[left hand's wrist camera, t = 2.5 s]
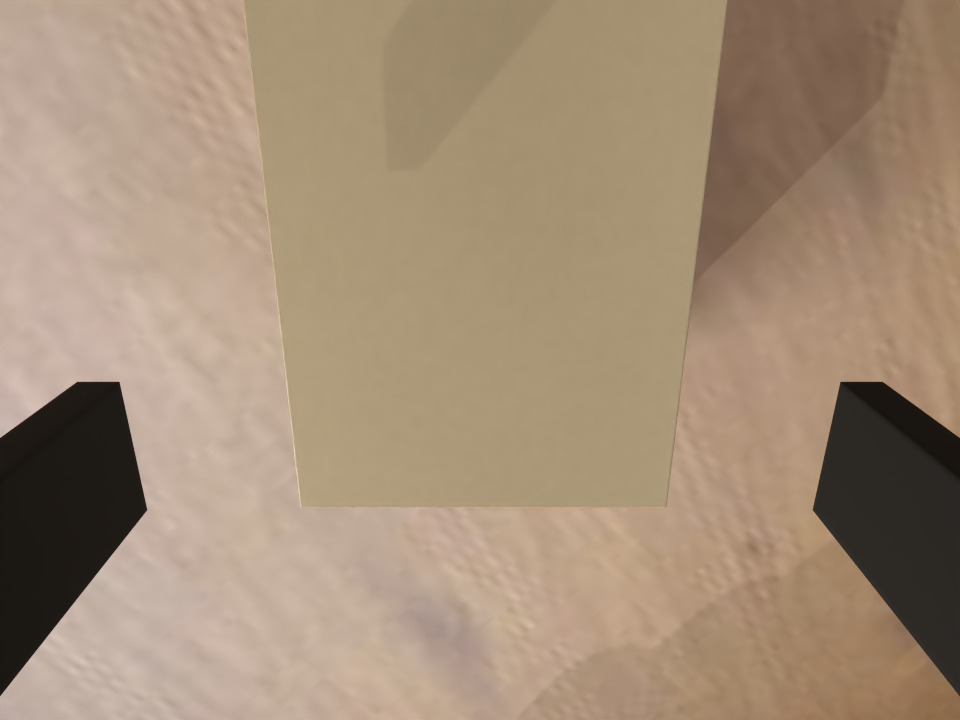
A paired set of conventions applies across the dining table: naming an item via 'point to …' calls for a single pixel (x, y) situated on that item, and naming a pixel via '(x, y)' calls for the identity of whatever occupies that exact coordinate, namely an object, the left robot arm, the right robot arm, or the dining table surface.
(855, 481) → the left robot arm
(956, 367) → the dining table surface
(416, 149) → the cabinet
